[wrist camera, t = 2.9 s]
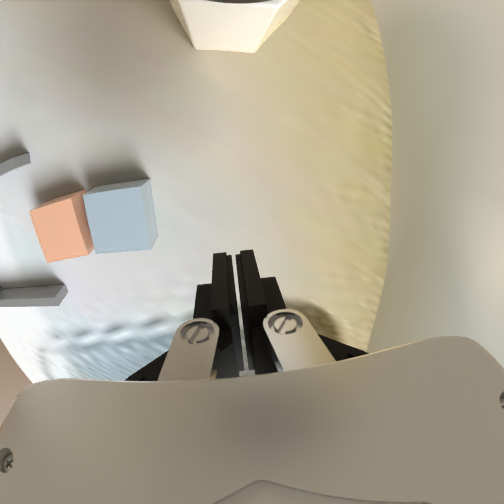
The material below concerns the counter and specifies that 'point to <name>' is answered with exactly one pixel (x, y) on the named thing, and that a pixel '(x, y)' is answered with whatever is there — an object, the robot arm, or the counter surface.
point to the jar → (231, 22)
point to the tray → (29, 295)
